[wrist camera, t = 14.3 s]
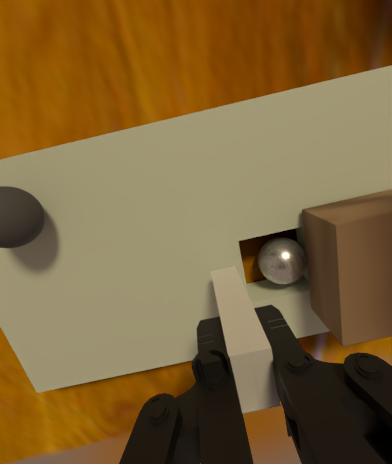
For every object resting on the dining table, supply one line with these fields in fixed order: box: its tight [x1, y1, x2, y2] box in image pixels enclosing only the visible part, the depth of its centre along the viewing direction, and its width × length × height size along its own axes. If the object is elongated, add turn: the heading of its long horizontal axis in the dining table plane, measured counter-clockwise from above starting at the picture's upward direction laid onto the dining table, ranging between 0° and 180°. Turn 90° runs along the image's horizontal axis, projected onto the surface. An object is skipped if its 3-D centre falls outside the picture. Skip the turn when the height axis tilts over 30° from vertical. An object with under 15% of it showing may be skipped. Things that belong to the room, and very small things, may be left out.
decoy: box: [0, 186, 45, 248], centre depth 13 cm, size 3×3×3 cm
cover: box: [302, 189, 392, 346], centre depth 14 cm, size 7×7×4 cm
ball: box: [258, 237, 307, 284], centre depth 17 cm, size 3×3×3 cm
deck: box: [0, 65, 392, 393], centre depth 17 cm, size 28×16×2 cm, turn 103°
